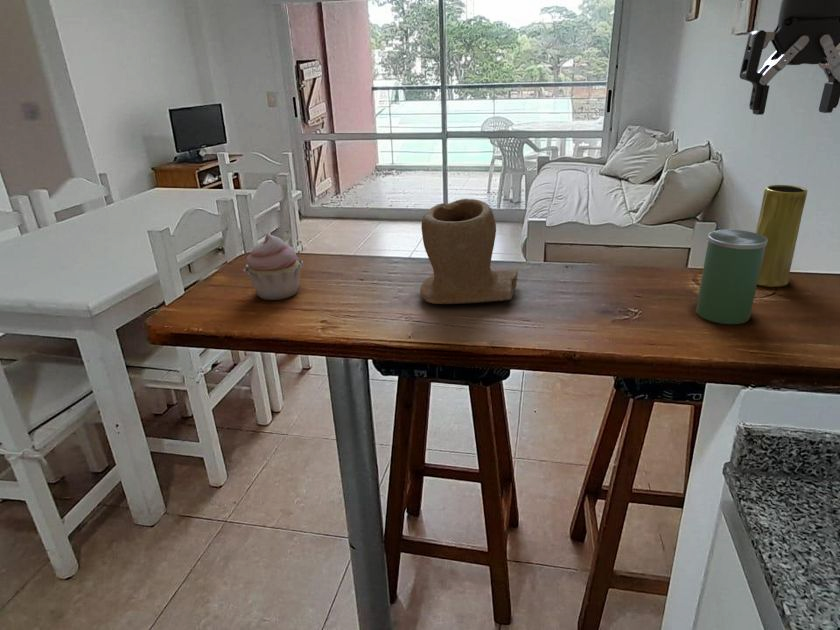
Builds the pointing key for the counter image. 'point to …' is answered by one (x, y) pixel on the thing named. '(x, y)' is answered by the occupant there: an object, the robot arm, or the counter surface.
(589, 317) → the counter surface
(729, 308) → the green can
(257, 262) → the cupcake
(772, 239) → the vase
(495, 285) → the stone cup
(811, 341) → the counter surface
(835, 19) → the robot arm
